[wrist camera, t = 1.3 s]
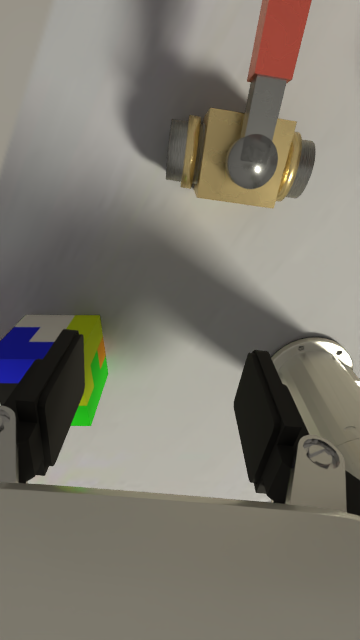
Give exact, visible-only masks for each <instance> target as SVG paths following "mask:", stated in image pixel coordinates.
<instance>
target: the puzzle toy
mask: <svg viewBox="0 0 360 640" xmlns="http://www.w3.org/2000/svg"><path fill="white" fill-rule="evenodd" d="M63 329H70V330H78V331H79V334H82V335H83V337H84V369H85V389H84V393H83V396H82V399H81V401H80V403H79V406H78V408H77V411H76V413H75V416H74V418H73V421H72V423H71V426H91V424H92V421H93V418H94V415H95V412H96V409H97V406H98V403H99V400H100V397H101V394H102V391H103V388H104V385H105V382H106V379H107V376H108V369H107V362H106V355H105V348H104V341H103V333H102V326H101V319H100V315H25V316H24V317H23V318H22V319H21V320H20V321H19V322H18V323H17V324H16V326H15V327H14V328H13V329H12V330H11V331H10V332H9V333H8V334H7V335H6V336H5V337H4V338H3V339H2V340H1V341H0V404H1V406H3V404H4V403H5V402H6V400H7V399H8V397H9V396H10V394H11V393H12V392H13V390H14V389H15V387H16V386H17V385H18V383H19V382H20V380H21V379H22V378H23V376H24V375H25V373H26V372H27V371H28V369H29V368H30V366H31V365H32V363H33V362H34V361H35V360H36V359H43V358H44V357H45V355H46V354H47V352H48V351H49V349H50V348H51V346H52V345H53V343H54V342H55V340H56V339H57V337H58V336H59V334H60V333H61V331H62V330H63Z"/></svg>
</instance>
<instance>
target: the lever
mask: <svg viewBox="0 0 360 640" xmlns="http://www.w3.org/2000/svg"><path fill="white" fill-rule="evenodd" d="M311 1H312V0H262V5H261V11H260V16H259V21H258V26H257V31H256V37H255V42H254V47H253V52H252V58H251V63H250V68H249V73H248V79H247V82H251V84H250V89H249V94H248V99H247V105H246V110H245V115H244V120H243V125H242V130H241V135H240V139H238V140H237V141H235V142H234V143H233V144H232V146H231V147H230V149H229V150H228V153H227V155H226V160H225V168H226V172H227V175H228V177H229V178H230V180H231V181H232V182H233V183H235V184H237V185H238V186H240V187H242V188H245V189H256V188H259V187H261V186H263V185H265V184H266V183H267V182H268V181H269V180H270V179H271V178H272V176H273V175H274V173H275V171H276V168H277V164H278V153H277V149H276V147H275V145H274V143H273V142H272V140H273V136H274V131H275V127H276V123H277V119H278V115H279V111H280V107H281V103H282V98H283V94H284V90H285V86H286V83H288V82H289V81H290V80H292V77H293V73H294V69H295V65H296V61H297V57H298V53H299V49H300V45H301V41H302V37H303V33H304V29H305V25H306V21H307V17H308V13H309V9H310V5H311Z"/></svg>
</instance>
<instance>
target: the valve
mask: <svg viewBox="0 0 360 640" xmlns="http://www.w3.org/2000/svg"><path fill="white" fill-rule="evenodd" d="M244 115H245V113H240V112H234V111H228V110H222V109H216V108H210V109H209V110H208V112H207V114H206V115H205V117H204V122H203V124H200V122H201V117H199V116H193V115H189V121H181V120H175V119H172V122H171V129H170V137H169V146H168V157H167V169H166V180H173V181H180V182H181V187H182V188H189V189H191V186H192V183H194V184H195V185H194V191H195V194H196V196H197V198H204V199H211V200H218V201H225V202H232V203H239V204H246V205H253V206H260V207H267V208H274V205H275V201H282V200H283V199H284V198H285V197H290V198H297V197H299V196H300V195H301V193H302V192H303V191H304V189H305V187H306V185H307V183H308V181H309V178H310V176H311V173H312V169H313V166H314V161H315V144H314V142H312V141H308V140H302V138H301V135H300V133H298V132H294V131H295V127H296V123H297V122H296V121H290V120H284V119H277V123H276V127H275V131H274V136H273V140H272V142H273V143H274V145H275V147H276V149H277V153H278V164H277V168H276V171H275V173H274V175H273V176H272V178H271V179H270V180H269V181H268V182H267V183H266V184H265V185H263V186H261V187H259V188H256V189H245V188H242V187H240V186H238V185H237V184H235V183H233V182H232V181H231V180H230V178H229V177H228V175H227V172H226V168H225V160H226V155H227V153H228V150H229V149H230V147H231V146H232V144H233V143H234V142H235V141H237V140H238V139H240V135H241V130H242V125H243V120H244Z"/></svg>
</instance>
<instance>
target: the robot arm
mask: <svg viewBox="0 0 360 640" xmlns="http://www.w3.org/2000/svg"><path fill="white" fill-rule="evenodd" d="M84 389H85V369H84V337H83V335H82V334H79V331H78V330H70V329H63V330H62V331H61V333H60V334H59V336H58V337H57V339H56V340H55V342H54V343H53V345H52V346H51V348H50V349H49V351H48V352H47V354H46V355H45V357H44V358H43V359H36V360H35V361H34V362H33V363H32V365H31V366H30V368H29V369H28V371H27V372H26V373H25V375H24V376H23V378H22V379H21V380H20V382H19V383H18V385H17V386H16V387H15V389H14V390H13V392H12V393H11V394H10V396H9V397H8V399H7V400H6V402H5V403H4V404H3V406H0V640H360V378H358V377H357V376H356V375H355V373H354V372H353V364H352V359H351V357H350V355H349V354H348V352H347V351H346V350H345V349H344V348H343V347H342V346H341V345H340V344H338V343H336V342H335V341H332V340H329V339H326V338H318V337H317V338H306V339H301V340H298V341H295V342H292V343H290V344H288V345H286V346H284V347H283V348H282V349H280V350H279V351H278V352H276V353H275V355H274V356H273V357H272V358H271V357H270V354H269V353H268V352H267V351H259V350H254V351H253V352H252V353H249V354H248V356H247V359H246V362H245V366H244V369H243V372H242V376H241V379H240V383H239V386H238V389H237V393H236V396H235V400H234V411H235V416H236V420H237V425H238V430H239V435H240V440H241V444H242V449H243V454H244V459H245V463H246V468H247V473H248V478H249V481H250V482H251V483H254V486H255V490H256V493H265V494H267V496H268V497H269V498H270V499H271V503H270V502H259V501H247V500H235V499H223V498H211V497H199V496H187V495H174V494H162V493H149V492H136V491H124V490H111V489H97V488H83V487H70V486H56V485H43V484H28V480H30V479H32V478H33V477H35V475H42V476H45V474H46V472H47V469H48V467H49V466H54V464H55V462H56V460H57V458H58V455H59V453H60V450H61V448H62V445H63V443H64V440H65V438H66V435H67V433H68V431H69V428H70V426H71V423H72V421H73V418H74V416H75V413H76V411H77V408H78V406H79V403H80V401H81V399H82V396H83V393H84Z"/></svg>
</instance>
